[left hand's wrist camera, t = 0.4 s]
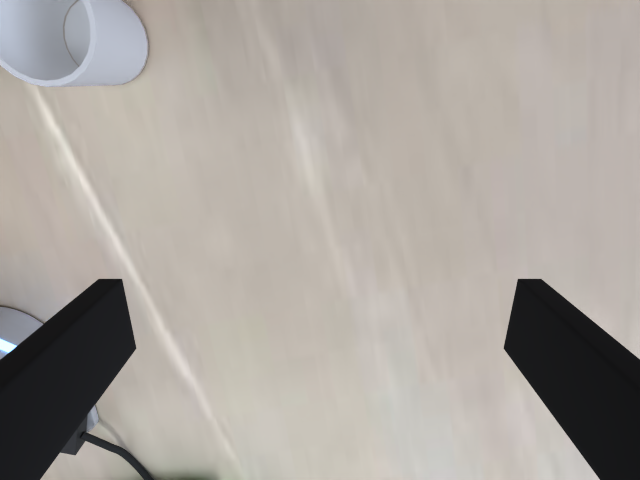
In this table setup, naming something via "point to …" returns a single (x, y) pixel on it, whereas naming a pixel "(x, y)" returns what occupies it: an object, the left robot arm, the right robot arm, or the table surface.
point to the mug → (72, 42)
